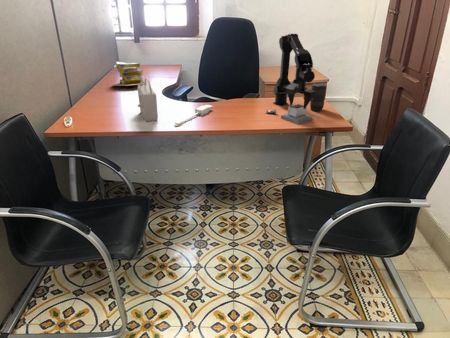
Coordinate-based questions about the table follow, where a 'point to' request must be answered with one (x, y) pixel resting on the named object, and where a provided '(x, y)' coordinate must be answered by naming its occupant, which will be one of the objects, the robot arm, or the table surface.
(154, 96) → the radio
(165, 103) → the table surface
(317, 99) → the camera lens
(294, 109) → the box
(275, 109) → the loose bolt
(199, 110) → the white brush
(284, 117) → the stand
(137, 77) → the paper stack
